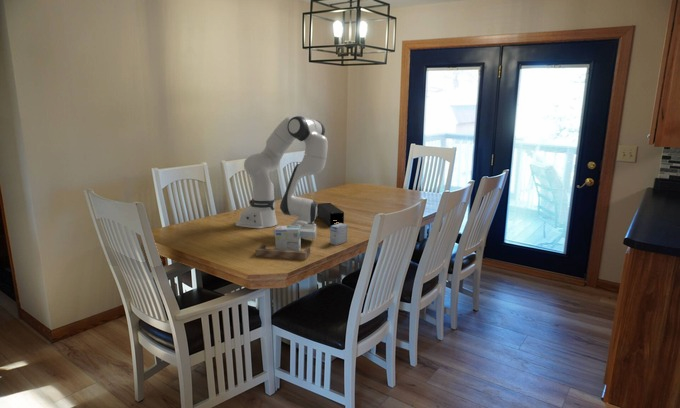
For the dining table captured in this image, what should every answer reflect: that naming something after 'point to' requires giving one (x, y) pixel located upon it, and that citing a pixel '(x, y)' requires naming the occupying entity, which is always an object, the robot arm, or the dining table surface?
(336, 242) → the medicine box
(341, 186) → the dining table surface
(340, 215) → the long black box
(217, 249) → the dining table surface
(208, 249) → the dining table surface
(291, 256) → the walnut corral
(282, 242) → the light bulb box
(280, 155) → the robot arm
